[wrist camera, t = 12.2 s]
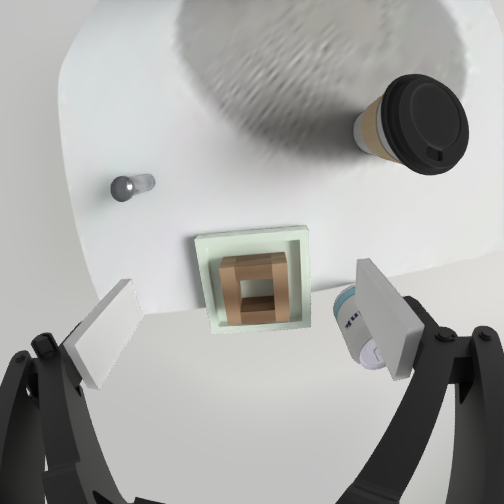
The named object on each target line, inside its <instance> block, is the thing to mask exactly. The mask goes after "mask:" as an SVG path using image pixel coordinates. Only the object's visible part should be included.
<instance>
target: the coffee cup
mask: <svg viewBox="0 0 504 504" xmlns="http://www.w3.org/2000/svg"><path fill="white" fill-rule="evenodd" d="M353 135H354V139H355V142H356V144H357V145H358V146H359V148H360V149H362V150H363V151H365V152H367V153H369V154H372V155H376V156H378V157H380V158H383V159H386V160H390V161H393V162H396V163H400V164H403V165H405V166H406V167H408V168H409V169H411V170H412V171H414V172H417V173H419V174H423V175H437V174H442V173H445V172H447V171H449V170H450V169H452V168H453V167H454V166H455V165H456V164H457V163H458V161H459V160H460V159H461V158H462V157H463V155H464V153H465V151H466V148H467V145H468V140H469V126H468V120H467V117H466V114H465V111H464V108H463V106H462V104H461V103H460V101H459V99H458V98H457V97H456V95H455V94H454V93H453V92H452V91H451V90H450V89H449V88H448V87H447V86H445V85H444V84H442V83H441V82H439V81H437V80H435V79H433V78H431V77H429V76H426V75H422V74H409V75H404V76H401V77H399V78H397V79H395V80H394V81H393V82H392V83H391V84H390V85H389V86H388V88H387V89H386V91H385V93H384V94H383V95H382V96H380V97H379V98H378V99H377V100H375V101H374V102H373V103H372V104H370V105H369V106H368V107H367V108H366V110H365V111H364V112H363V113H361V114H360V115H359V116H358V117H357V119H356V120H355V123H354V127H353Z"/></svg>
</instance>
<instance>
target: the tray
mask: <svg viewBox="0 0 504 504" xmlns="http://www.w3.org/2000/svg"><path fill="white" fill-rule="evenodd" d="M194 241H195V247H196V253H197V259H198V265H199V270H200V276H201V282H202V287H203V292H204V298H205V303H206V308H207V312H208V318H209V323H210V328H211V333H212V334H223V333H243V332H260V331H274V330H286V329H297V328H306V327H311V280H310V244H309V229H308V227H307V226H295V227H282V228H270V229H258V230H247V231H236V232H225V233H214V234H204V235H197V237H196V238H195V239H194ZM276 252H285V255H286V260H287V266H288V286H289V308H290V321H283V322H271V323H259V324H240V325H228V322H227V316H226V310H225V304H224V298H223V291H222V285H221V278H220V272H219V267H220V264H221V262H222V259H223V257H226V256H239V255H251V254H263V253H276ZM240 285H241V293H242V298H246V297H260V296H273V295H274V289H273V278H270V279H257V280H244V281H240Z"/></svg>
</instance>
